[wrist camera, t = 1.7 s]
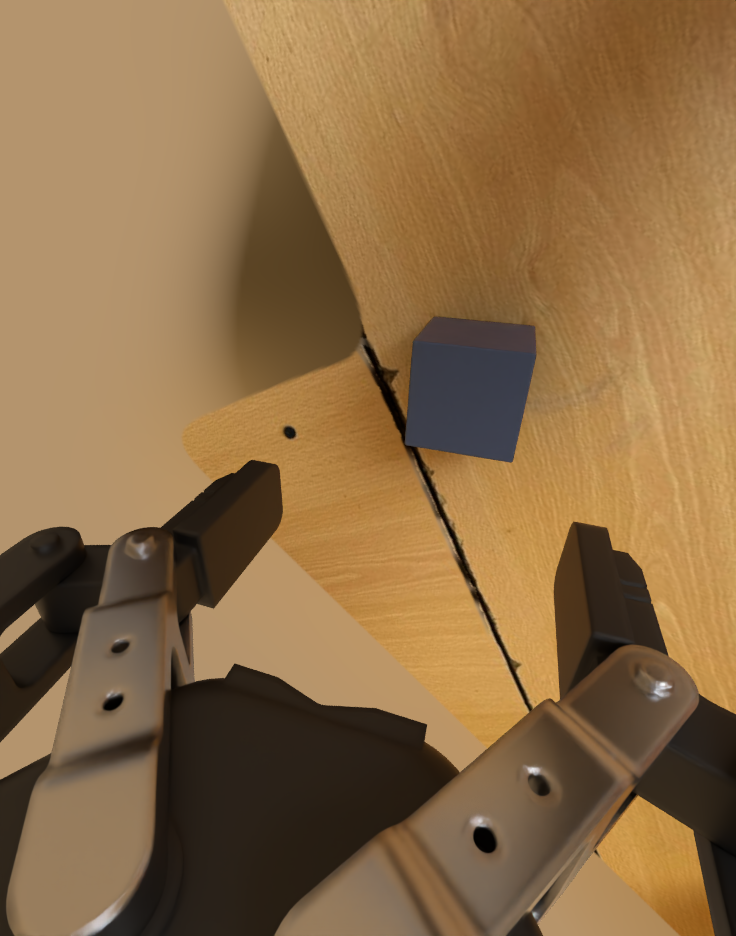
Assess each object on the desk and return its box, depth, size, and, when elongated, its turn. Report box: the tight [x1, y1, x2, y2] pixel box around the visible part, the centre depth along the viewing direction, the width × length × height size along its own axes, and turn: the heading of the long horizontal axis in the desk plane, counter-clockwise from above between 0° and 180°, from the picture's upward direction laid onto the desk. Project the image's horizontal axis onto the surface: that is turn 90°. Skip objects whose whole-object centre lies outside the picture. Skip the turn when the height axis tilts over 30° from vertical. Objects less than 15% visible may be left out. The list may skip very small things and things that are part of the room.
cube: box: [405, 317, 536, 462], centre depth 22 cm, size 5×5×5 cm
